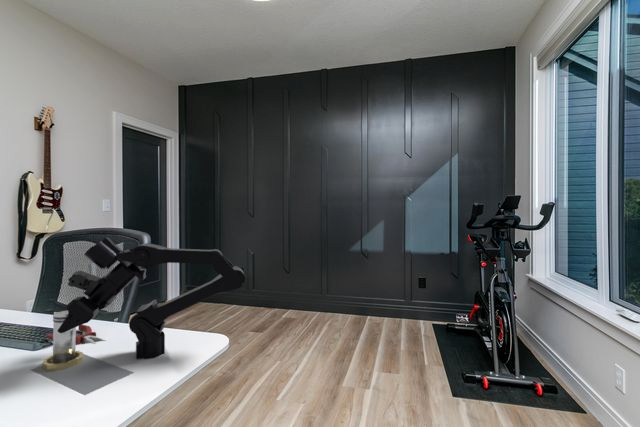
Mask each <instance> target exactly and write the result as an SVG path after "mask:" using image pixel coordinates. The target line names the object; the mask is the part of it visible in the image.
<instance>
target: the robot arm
mask: <svg viewBox="0 0 640 427" xmlns="http://www.w3.org/2000/svg"><path fill="white" fill-rule="evenodd" d="M84 257H86V258H87V259H88V260H90V261H91V262H92V263H93V264H94V265H96V266H97V267H98V268H99V269H100V270H103V269H104V270H105V269H107V270H110V269H111V268H112V269H111V270H110V271H109V272H107V273H106V274H104V276H102V277H98V276H97V275H95V274H92V273H89V272H87V271H83V270H77V271H75V272H73V273H72V275H71V276H70V277H68V283H67V286H69V287H71V288H78V289H80V290H83V291H84V292H83V294H84V295H85V296H84V295H83V296H81V295H80V296H77V297H75V298H73V299H72V300H71V301H70V302H69V303H67V304H66V305H65V308H66V311H68V316H67V317H66V319H65V320H64V322H63V323H62V325H61V326H60V328H59V329H58V332H59V333H63V332H66V331H68V330H70V329H73V328H75V327H76V328H77V327H79V326H80V325H85V324H88V323H89V322H90V321H91V320H93V319H94V318H95V317H96V316H97V315H98V314H99V311H101V310H103V309H105V308H107V307H108V306H109V305H111V304H112V303H113V302H114V301H115V300H116V299H117V296H118V295H119V294H120V293H122V291H123V290H125V288H126V287H127V286H129V284H131V283H132V282H133V281H134V280H135V279H136V278H138V279H139V280H140V281H143V280H145V279H146V278H147V269H146V268H144V267H150V266H157V265H162V264H169V263H170V264H171V263H172V264H174V263H175V264H208V265H209V264H210V265H212V266H213V267H214V268H215V270H216V271H217V272H218V273H219V275H217V276H216V277H214V278H213V279H212V280H210V281H209V282H206V283H204V284H202V285H200V286H197V287H195V288H193V289H191V290H188V291H186V292H184V293H182V294H180V295H178V296H175V297H174V298H172V299H169V300H167V301H164V302H159V303H158V301H157V299H154V300H152V301H151V302H149V303H146V304H141V306H140V307H139V308H138V309H137V311H136V312H135V313H134V315H133V316H132V317H131V318H130V320H129V322H128V323H129V325H128V327H129V330H130V331H131V332H132V333H133V334H134V335H135V337H136V339H137V341H136V342H135V359H136V360H151V359H156V358H158V357H160V356H162V355H165V354H166V353H165V352H166V351H165V350H166V349H165V347H166V345H165V341H166V340H165V339H166V338H165V337H166V335H165V332H164V331H163V330H164V328H165V325H166V321H165V320H166V319H167V318H170V317H172V316H174V315H176V314H178V313H179V312H182V311H184V310H186V309H188V308H191V307H192V306H195V305H196V304H199V303H201V302H203V301H206V300H207V299H209V298H211V297H214V296H215V295H219V294H224V293H230V292H233V291H237V290H239V289H241V288H243V286H244V285H245V282H246V276H245V273H244V271H243V269H242V268H241V267H239V266H236V265H234V264H233V263H232V262H231V261H230V260H229V259H228V258H226V256H225V255H224V254H223V253H222V252H221V250H219V249H218V248H217V249H216V248H214V249H198V248H197V249H193V248H170V247H166V246H163V245H160V244H159V245H158V244H153V243H149V242H148V243H142V244H140V245H137V246H136V247H134V248H130V249H129V248H127V249H124V250H123V249H122V248H120V247H119V246H118V245H116V243H114V242H113V240H112V239H111V238H110V237H108V236H107V237H105V238H103V239H102V240H101V241H99V242H97V243H96V244H94V245H92V246H91V247H89V248H88V250H86V251H85V253H84ZM118 262H119V263H118Z"/></svg>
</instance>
